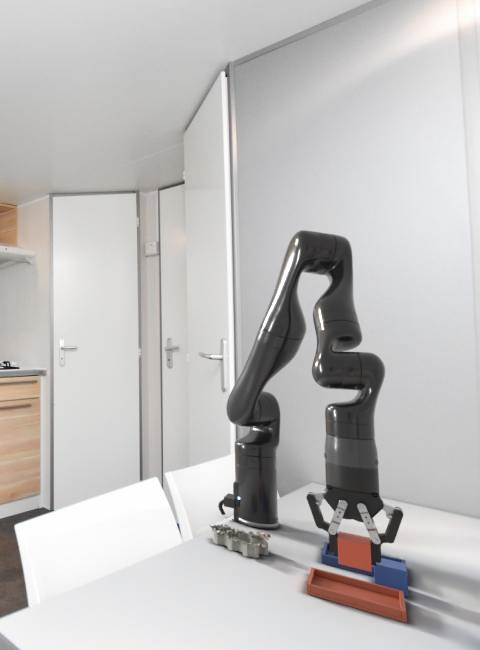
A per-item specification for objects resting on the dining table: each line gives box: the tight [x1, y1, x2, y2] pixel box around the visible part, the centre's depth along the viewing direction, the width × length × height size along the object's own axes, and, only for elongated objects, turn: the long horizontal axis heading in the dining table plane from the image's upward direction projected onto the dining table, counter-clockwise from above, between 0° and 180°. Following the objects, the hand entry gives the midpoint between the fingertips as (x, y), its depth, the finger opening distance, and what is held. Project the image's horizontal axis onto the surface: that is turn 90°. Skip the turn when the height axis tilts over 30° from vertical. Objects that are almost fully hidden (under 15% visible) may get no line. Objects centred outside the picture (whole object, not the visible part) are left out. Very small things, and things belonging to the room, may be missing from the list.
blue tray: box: [320, 541, 409, 586], centre depth 97 cm, size 13×9×2 cm
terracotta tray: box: [306, 566, 408, 623], centre depth 84 cm, size 13×9×2 cm
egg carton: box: [209, 523, 271, 559], centre depth 105 cm, size 11×8×4 cm
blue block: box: [373, 558, 409, 598], centre depth 88 cm, size 4×4×4 cm
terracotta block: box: [337, 530, 372, 572], centre depth 85 cm, size 4×4×4 cm
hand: (354, 559), depth 85 cm, fingers closed on terracotta block, 4 cm apart
